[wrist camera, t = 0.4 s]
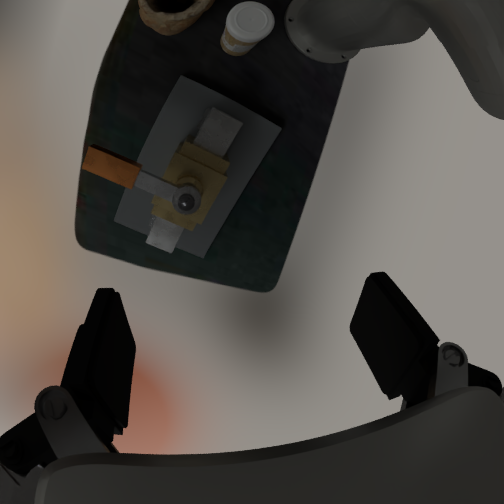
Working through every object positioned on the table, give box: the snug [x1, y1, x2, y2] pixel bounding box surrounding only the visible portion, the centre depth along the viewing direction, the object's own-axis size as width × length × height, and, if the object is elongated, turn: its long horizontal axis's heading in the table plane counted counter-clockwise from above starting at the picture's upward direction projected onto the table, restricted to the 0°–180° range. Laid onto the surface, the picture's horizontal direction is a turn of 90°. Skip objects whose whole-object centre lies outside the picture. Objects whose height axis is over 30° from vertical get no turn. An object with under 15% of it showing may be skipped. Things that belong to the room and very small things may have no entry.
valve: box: [146, 107, 243, 253], centre depth 35 cm, size 20×7×9 cm, turn 149°
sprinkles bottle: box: [221, 1, 275, 56], centre depth 25 cm, size 5×5×14 cm
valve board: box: [114, 75, 282, 258], centre depth 39 cm, size 24×16×2 cm, turn 149°
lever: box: [82, 144, 201, 215], centre depth 28 cm, size 14×3×2 cm, turn 59°
